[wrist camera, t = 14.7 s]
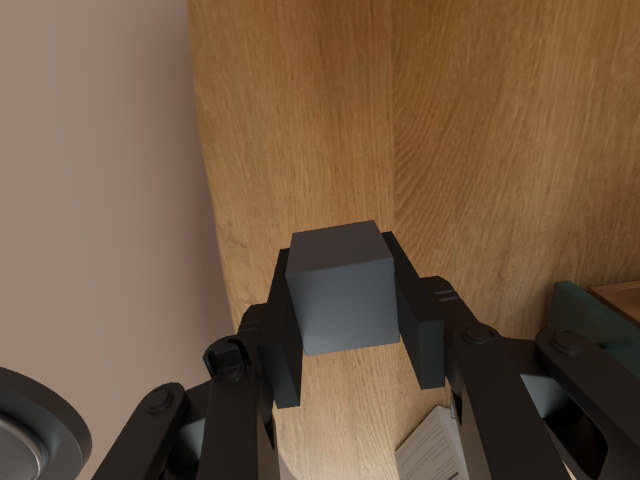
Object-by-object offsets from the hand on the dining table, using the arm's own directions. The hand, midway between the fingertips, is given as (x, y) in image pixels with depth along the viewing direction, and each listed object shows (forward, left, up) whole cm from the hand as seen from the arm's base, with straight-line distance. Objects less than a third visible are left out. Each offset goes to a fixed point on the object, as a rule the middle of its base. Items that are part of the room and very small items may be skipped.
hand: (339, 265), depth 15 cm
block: (0, 0, 0) cm, 0 cm away
